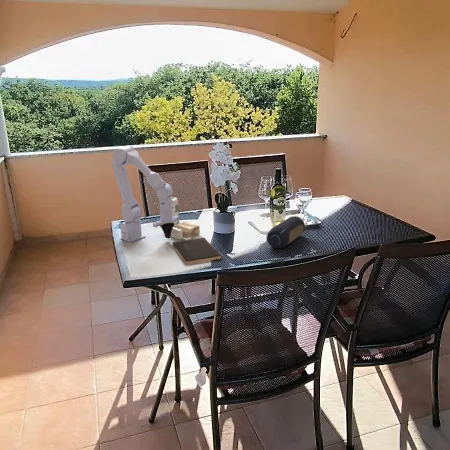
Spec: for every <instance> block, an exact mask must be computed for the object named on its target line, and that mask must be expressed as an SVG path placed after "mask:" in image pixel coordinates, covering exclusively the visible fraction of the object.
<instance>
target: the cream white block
mask: <svg viewBox="0 0 450 450" xmlns="http://www.w3.org/2000/svg"><path fill="white" fill-rule="evenodd" d="M183 236H184V235H183V233H182V230H180V229H178V228H177V227H173V229H172V232H171V236H170V238H171V237H172V238H174V239H177V240H178V241H180V240H182V239H183V240H185V239H186V238H184V237H183Z"/></svg>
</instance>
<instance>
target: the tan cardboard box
mask: <svg viewBox="0 0 450 450" xmlns="http://www.w3.org/2000/svg"><path fill="white" fill-rule="evenodd" d="M176 228H178V229H180V230H182V233H183V236H184V237H187V238H184V239H185V240H191V239H193V238H194V237H196V236H199V235H200V234H201V231H200V225H198V224H195V223H192V222H189V221H184V222H181V223H180V222H179V224H177V226H176ZM178 241H184V240H183V239H181V240H177V241H176V242H178Z"/></svg>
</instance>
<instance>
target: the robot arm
mask: <svg viewBox="0 0 450 450" xmlns="http://www.w3.org/2000/svg"><path fill="white" fill-rule="evenodd" d="M139 154H140V153H139V152H138V151H137V150H136V149H135V148H134V147H133V146H132V145H129V144H127V145H125V146H122V147H119V148H116V149H115V150H114V151H113V152H112V154H111V157H112V165H111V166H112V169H113V173H114V178H115V180H116V183H117V186H118V190H119V193H120V196H121V200H122V205H121V218H122V219H123V220H124V221H123V222H121V224H120V239H121V240H124V241H126V242H128V243H133V242H134V241H138V240H141V239H144V238H146V237H147V236H146V235H144V234H143V233H142V222H141V221H142V220H141V216H142V215H143V209H142V207H141V205H140V203H139V201H138V200H136V199H135V197H134V193H133V190H132V186H131V183H130V180H129V176H128V173H127V169H126V167H127V165H129V164H130V165H134V166H135V167H136V168H137V169H138V170H139V171H140V172H141V173H142V174H143V175H144V176H145V180H146V182H147V183H148V184H149V185H150V186H151V187H152V189H153V190H155V192H156V193H155V194H156V197H157V198H158V202H159V203H158V205H159V217H160V218H159V219H158V220H157V221H155V222H152V227H153V228H156V229H157V228H158V227H160V228H161V230H162V231H163V235H164V237H165V239H171V232H172V229H173V227H174V223H172V222H173V221H176V220H179V221H181V218H180V217H181V215H179V216H173V215H172V199H171V197H172V195H173V192H174V189H173V186H172V185H171V184H170V183H167V182H166V181H164V179H162V177H161V176H160V174H159V173H157V172H156V171H152V170H151V169H150V168H149V166H148V165H147V164H146V163H145V161H144V160H143V159H142V157H141V156H140V155H139Z"/></svg>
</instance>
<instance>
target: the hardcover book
mask: <svg viewBox="0 0 450 450" xmlns="http://www.w3.org/2000/svg"><path fill="white" fill-rule="evenodd" d="M177 241H178V242H177ZM177 241H172V242H171V244H172V246H173V247H174V249H175V250H176V252H177V253H178V255H179V256H180V257H181V259H182V260H183V261H185V262H184V263H185V265H192V263H193V264H198V262H199V263H205V262H210V261H209V260H211V261H216V259H217V260H222V259H223V257H222V254H221V253H220V252H218V250H217V249H215V247H214V246H213V245H212V244H211V243H210V242H209V241H208V240H207V239H206V238H205V237H198V238H192V239H190V240H184V241H180V240H177ZM204 261H205V262H204Z"/></svg>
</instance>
